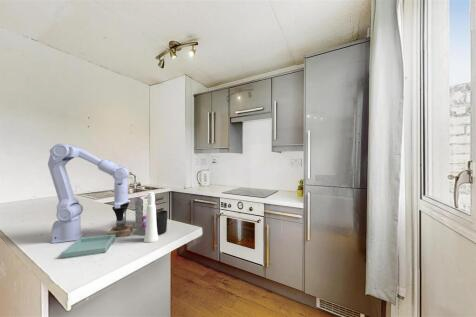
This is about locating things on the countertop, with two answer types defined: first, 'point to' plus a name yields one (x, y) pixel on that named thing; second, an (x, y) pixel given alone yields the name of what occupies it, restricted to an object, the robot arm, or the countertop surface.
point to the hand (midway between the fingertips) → (121, 219)
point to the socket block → (121, 231)
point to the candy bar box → (141, 211)
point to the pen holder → (161, 221)
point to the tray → (89, 246)
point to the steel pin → (121, 223)
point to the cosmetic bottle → (151, 220)
